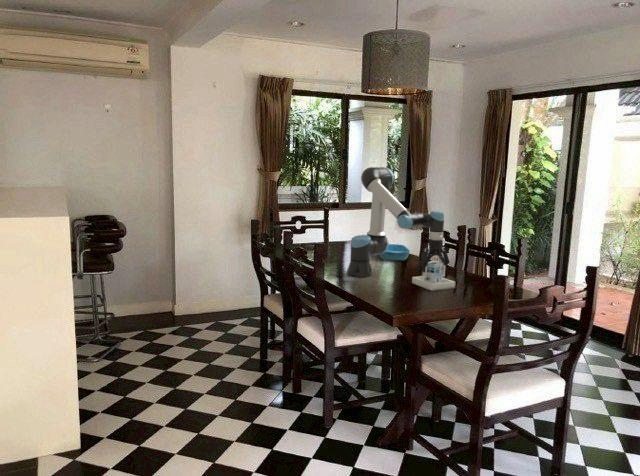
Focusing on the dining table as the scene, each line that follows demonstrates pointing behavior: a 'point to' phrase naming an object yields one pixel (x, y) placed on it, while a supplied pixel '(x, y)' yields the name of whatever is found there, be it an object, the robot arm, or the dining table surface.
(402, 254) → the casserole dish
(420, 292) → the dining table surface
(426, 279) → the light bulb box
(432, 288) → the tray
